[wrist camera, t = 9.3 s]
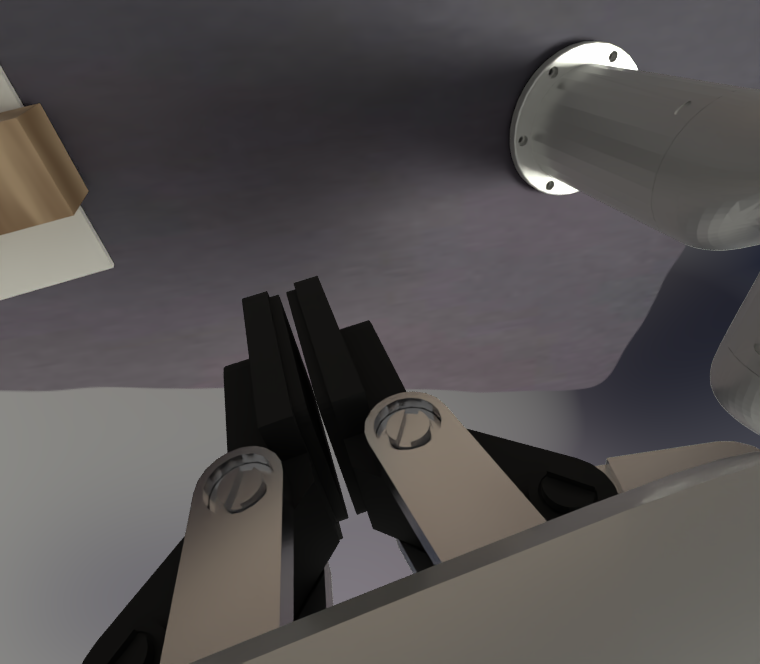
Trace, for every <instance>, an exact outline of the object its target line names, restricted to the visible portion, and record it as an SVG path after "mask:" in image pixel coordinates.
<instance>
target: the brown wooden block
mask: <svg viewBox="0 0 760 664" xmlns="http://www.w3.org/2000/svg"><path fill="white" fill-rule="evenodd" d="M87 193H88V189H87V188H86V186H85V184H84V182H83V180H82V178H81V177H80V175H79V173H78V171H77V169H76V168H75V166H74V164H73V162H72V160H71V159H70V157H69V155H68V153H67V151H66V150H65V148H64V146H63V144H62V142H61V140H60V139H59V137H58V135H57V133H56V131H55V130H54V128H53V126H52V124H51V122H50V121H49V119H48V117H47V115H46V113H45V112H44V110H43V108H42V106H41V104H40V103H38V104H34V105H30V106H26V107H22V108H17V109H13V110H9V111H5V112H1V113H0V235H4V234H7V233H11V232H15V231H18V230H22V229H26V228H29V227H33V226H37V225H41V224H44V223H48V222H52V221H55V220H59V219H63V218H66V217H70V216H74V215H75V213H76V211H77V210H78V208H79V206H80V205H81V203H82V201H83V200H84V198H85V196H86V195H87Z"/></svg>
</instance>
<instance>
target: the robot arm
mask: <svg viewBox="0 0 760 664" xmlns="http://www.w3.org/2000/svg"><path fill="white" fill-rule="evenodd" d="M549 70H550V71H549ZM510 150H511V156H512V160H513V162H514V165H515V168H516V170H517V171H518V173H519V174H520V176H521V177H522V179H523V180H525V181H526V182H527V183H528V184H529V185H530V186H532V187H534V188H535V189H537V190H539V191H541V192H543V193H546V194H551V195H567V194H572V193H575V192H578V191H581V192H583V193H585V194H587V195H588V196H590V197H592V198H594V199H596V200H598V201H600V202H602V203H604V204H606V205H608V206H610V207H612V208H614V209H616V210H618V211H620V212H622V213H624V214H626V215H628V216H630V217H632V218H634V219H635V220H637V221H639V222H641V223H643V224H645V225H647V226H649V227H651V228H653V229H655V230H657V231H659V232H661V233H663V234H665V235H667V236H669V237H671V238H673V239H675V240H677V241H679V242H681V243H683V244H686V245H689V246H692V247H695V248H700V249H705V250H731V249H739V248H744V247H749V246H754V245H758V244H760V89H750V88H744V87H738V86H732V85H726V84H719V83H713V82H707V81H701V80H695V79H689V78H683V77H676V76H670V75H664V74H658V73H652V72H646V71H640V70H638V69H637V66H636V64H635V63H634V61H633V60H632V58H631V57H630V55H629V54H628V53H626V52H625V51H624V50H623V49H622V48H620V47H618V46H616V45H614V44H611V43H608V42H601V41H583V42H580V43H576V44H572V45H570V46H568V47H566V48H564V49H562V50H560V51H558V52H557V53H555V54H554V55H553V56H551V57H550V58H549V59H547V60H546V61H545V62H544V63H543V64H542V65H541V66H540V67H539V68H538V69H537V71H536V72H535V73H534V74H533V76H532V77H531V78H530V80H529V81H528V83H527V84H526V85H525V87H524V89H523V91H522V93H521V95H520V97H519V99H518V101H517V104H516V107H515V110H514V113H513V117H512V122H511V127H510ZM294 286H295V290H292V291H289V292H286V294H287V297H288V301H289V305H290V308H291V312H292V315H293V319H294V322H295V326H296V330H297V333H298V337H299V340H300V344H301V348H302V351H303V355H304V358H305V362H306V366H307V369H308V373H309V376H310V380H311V383H310V380H309V378H308V375H307V372H306V369H305V366H304V364H303V361H302V358H301V355H300V352H299V350H298V347H297V344H296V341H295V339H294V336H293V333H292V330H291V327H290V325H289V322H288V319H287V316H286V313H285V311H284V308H283V305H282V302H281V300H280V297H279V295H276V296H272V297H269V295H268V292H267V291H266V292H263V293H260V294H256V295H253V296H250V297H247V298H243V299H242V304H243V312H244V320H245V328H246V336H247V344H248V352H249V359H247V360H244V361H241V362H238V363H235V364H231V365H228V366H225V367H224V391H225V411H226V431H227V450H228V453H227V454H225V455H223V456H221V457H220V458H218V459H217V460H216V461H215V462H213V463H212V464H211V465H210V466H209V467H208V468H207V469H206V470H205V471H204V473H203V474H202V476H201V477H200V478H199V480H198V482H197V484H196V487H195V490H194V493H193V497H192V503H191V508H190V514H189V518H188V523H187V528H186V533H185V537H184V538H183V539H182V540H181V541H180V542H179V544H178V545H177V546H176V547H175V548H174V550H173V551H172V552H171V553H170V554H169V556H168V557H167V558H166V559H165V561H164V562H163V563H162V564H161V565H160V566H159V568H158V569H157V570H156V571H155V572H154V574H153V575H152V576H151V577H150V578H149V580H148V581H147V582H146V583H145V584H144V586H143V587H142V588H141V589H140V590H139V592H138V593H137V594H136V595H135V596H134V598H133V599H132V600H131V601H130V602H129V603H128V605H127V606H126V607H125V608H124V609H123V611H122V612H121V613H120V614H119V615H118V617H117V618H116V619H115V620H114V622H113V623H112V624H111V625H110V626H109V627H108V629H107V630H106V631H105V632H104V633H103V635H102V636H101V637H100V638H99V639H98V641H97V642H96V643H95V645H94V646H93V648H92V649H91V650H90V652H89V653H88V655H87V656H86V658H85V659H84V661H83V663H82V664H760V449H758V448H756V447H754V446H751V445H747V444H743V443H739V442H735V441H717V442H711V443H704V444H697V445H690V446H683V447H678V448H670V449H664V450H657V451H650V452H644V453H637V454H630V455H624V456H617V457H610V458H607V460H606V465H599V466H594V465H592V464H590V463H588V462H585V461H583V460H580V459H577V458H574V457H570V456H567V455H563V454H559V453H555V452H552V451H548V450H544V449H541V448H537V447H533V446H529V445H525V444H522V443H518V442H514V441H511V440H507V439H503V438H500V437H496V436H492V435H488V434H485V433H481V432H477V431H473V430H470V429H466V428H465V427H464V426H463V425H462V423H461V422H460V421H459V420H458V419H457V418H456V417H455V416H454V414H453V413H452V412H451V411H450V410H449V409H448V407H446V405H445V404H444V403H443V402H441V401H440V400H439V399H438V398H436V397H434V396H432V395H429V394H427V393H421V392H413V391H412V392H406V390H405V388H404V386H403V384H402V382H401V380H400V378H399V376H398V374H397V372H396V371H395V369H394V367H393V365H392V363H391V361H390V359H389V357H388V355H387V353H386V351H385V349H384V347H383V345H382V343H381V341H380V339H379V337H378V336H377V334H376V332H375V330H374V328H373V326H372V324H371V322H370V321H369V320H368V321H365V322H362V323H359V324H356V325H352V326H349V327H346V328H343V329H340V330H339V327H338V325H337V322H336V320H335V318H334V315H333V313H332V310H331V308H330V305H329V303H328V300H327V298H326V296H325V293H324V291H323V288H322V286H321V283H320V281H319V278H318V276H315V277H312V278H309V279H305V280H302V281H299V282H296V283H294ZM710 382H711V387H712V390H713V392H714V395H715V396H716V398H717V400H718V401H719V403H720V404H721V405H722V406H723V407H724V409H725V410H726V411H728V413H729V414H730V415H732V416H733V417H734V418H735V419H736V420H738V421H739V422H740V423H742V424H743V425H744V426H746V427H748V428H749V429H751V430H752V431H754V432H755V433H757V434H759V435H760V273H759V275H758V277H757V278H756V280H755V282H754V284H753V286H752V288H751V289H750V291H749V293H748V295H747V296H746V298H745V300H744V302H743V303H742V306H741V307H740V309H739V311H738V312H737V315H736V316H735V318H734V320H733V321H732V323H731V325H730V327H729V329H728V330H727V333H726V335H725V337H724V338H723V340H722V342H721V344H720V346H719V348H718V350H717V353H716V355H715V357H714V359H713V362H712V366H711V372H710ZM311 384H312V386H311ZM312 387H313V389H312ZM313 391H314V392H313ZM314 394H315V395H314ZM316 401H317V402H316ZM317 404H318V406H317ZM318 407H319V409H318ZM319 411H320V413H319ZM320 414H321V417H322V419H323V422H324V425H325V428H326V430H327V433H328V436H329V439H330V442H331V444H332V447H333V450H334V453H335V456H336V458H337V461H338V464H339V467H340V469H341V472H342V475H343V478H344V480H345V483H346V486H347V488H348V491H349V494H350V497H351V500H352V502H353V505H354V508H355V511H356V513H357V515H358V514H360V513H363V512H366V511H367V512H368V515H369V518H370V521H371V524H372V527H373V529H375V530H377V531H380V532H382V533H385V534H387V535H389V536H392V537H394V538H396V541H397V544H398V547H399V549H400V551H401V552H402V554H403V556H404V558H405V560H406V562H407V563H408V565H409V567H410V569H411V570H412V573H413V574H412V575H410V576H407V577H405V578H402V579H400V580H397V581H395V582H392V583H389V584H387V585H384V586H382V587H379V588H377V589H374V590H372V591H369V592H367V593H364V594H362V595H359V596H357V597H354V598H352V599H349V600H347V601H344V602H342V603H339V604H337V605H334V606H333V594H332V579H331V578H332V577H331V570H330V566H329V562H328V560H329V559H330V557H331V555H332V554H333V552H334V550H335V549H336V547H337V545H338V543H339V542H340V541H339V540H340V539H342V538H343V536H342V532H341V528H340V524H339V521H342V520H344V519H347V518H348V514H347V510H346V506H345V503H344V500H343V495H342V492H341V488H340V485H339V482H338V478H337V474H336V470H335V467H334V463H333V460H332V456H331V452H330V449H329V445H328V442H327V438H326V435H325V431H324V427H323V424H322V420H321V417H320Z"/></svg>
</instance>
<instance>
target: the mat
mask: <svg viewBox="0 0 760 664" xmlns="http://www.w3.org/2000/svg"><path fill="white" fill-rule="evenodd" d="M22 107H24V106H23V104H22V102H21V101H20V99H19V97H18V95H17V94H16V92H15V90H14V88H13V87H12V85H11V83H10V81H9V80H8V78H7V76H6V74H5V73H4V71H3V69H2V67H1V66H0V113H1V112H5V111H9V110H13V109H17V108H22ZM113 267H114V263H113V261H112V259H111V258H110V256H109V254H108V252H107V251H106V249H105V247H104V245H103V244H102V242H101V240H100V238H99V237H98V235H97V233H96V231H95V230H94V228H93V226H92V224H91V223H90V221H89V219H88V217H87V216H86V214H85V212H84V210H83V209H82V207H81V205H80V206H79V208H78V210H77V211H76V213H75V215H74V216H70V217H66V218H63V219H59V220H55V221H52V222H48V223H44V224H41V225H37V226H33V227H29V228H26V229H22V230H18V231H15V232H11V233H7V234H4V235H0V300H3V299H6V298H10V297H13V296H17V295H20V294H24V293H27V292H31V291H34V290H38V289H41V288H45V287H48V286H52V285H55V284H59V283H62V282H65V281H69V280H72V279H76V278H79V277H83V276H86V275H90V274H93V273H97V272H100V271H104V270H107V269H111V268H113Z"/></svg>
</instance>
